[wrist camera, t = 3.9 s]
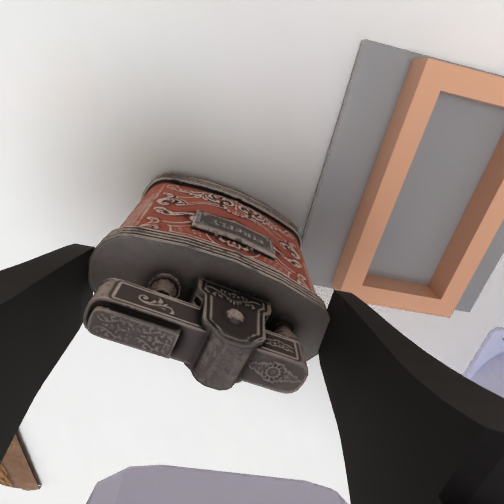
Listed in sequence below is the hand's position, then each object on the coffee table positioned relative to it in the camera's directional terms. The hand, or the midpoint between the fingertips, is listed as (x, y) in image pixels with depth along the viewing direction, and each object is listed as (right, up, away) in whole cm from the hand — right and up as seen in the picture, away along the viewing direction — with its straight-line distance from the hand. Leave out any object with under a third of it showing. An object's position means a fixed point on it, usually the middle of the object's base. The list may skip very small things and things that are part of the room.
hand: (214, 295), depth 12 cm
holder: (+10, +4, +7) cm, 13 cm away
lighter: (0, +3, +6) cm, 7 cm away
